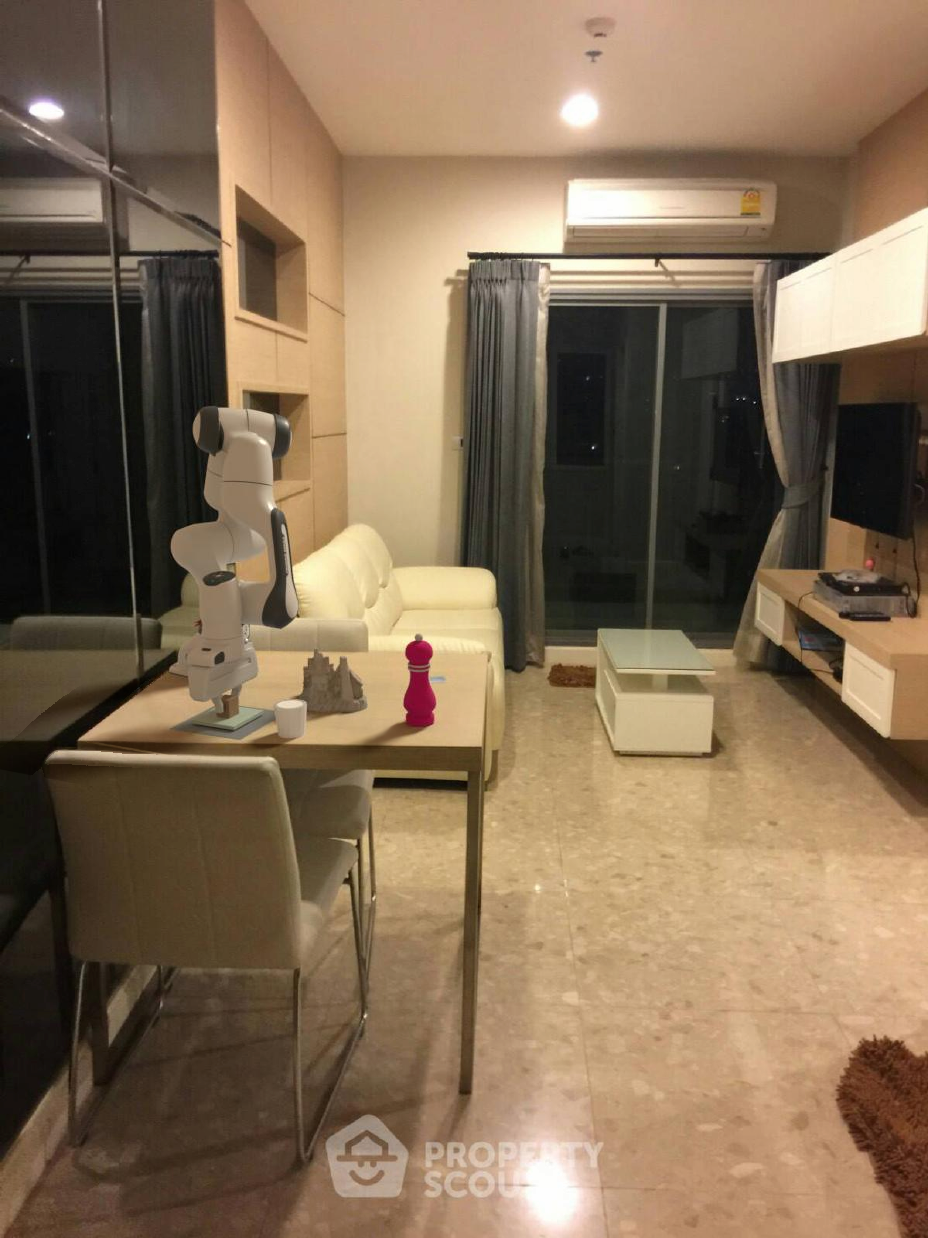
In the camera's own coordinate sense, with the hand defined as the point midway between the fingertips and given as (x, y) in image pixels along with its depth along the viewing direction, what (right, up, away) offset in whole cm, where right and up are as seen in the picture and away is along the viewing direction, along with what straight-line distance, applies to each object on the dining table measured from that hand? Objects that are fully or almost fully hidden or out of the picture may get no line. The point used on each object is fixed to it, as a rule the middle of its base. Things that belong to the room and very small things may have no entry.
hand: (227, 708), depth 202 cm
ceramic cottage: (+21, 0, +13) cm, 25 cm away
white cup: (+15, -5, -7) cm, 18 cm away
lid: (0, -2, +1) cm, 2 cm away
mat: (0, -3, +1) cm, 3 cm away
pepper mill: (+42, -3, 0) cm, 42 cm away
